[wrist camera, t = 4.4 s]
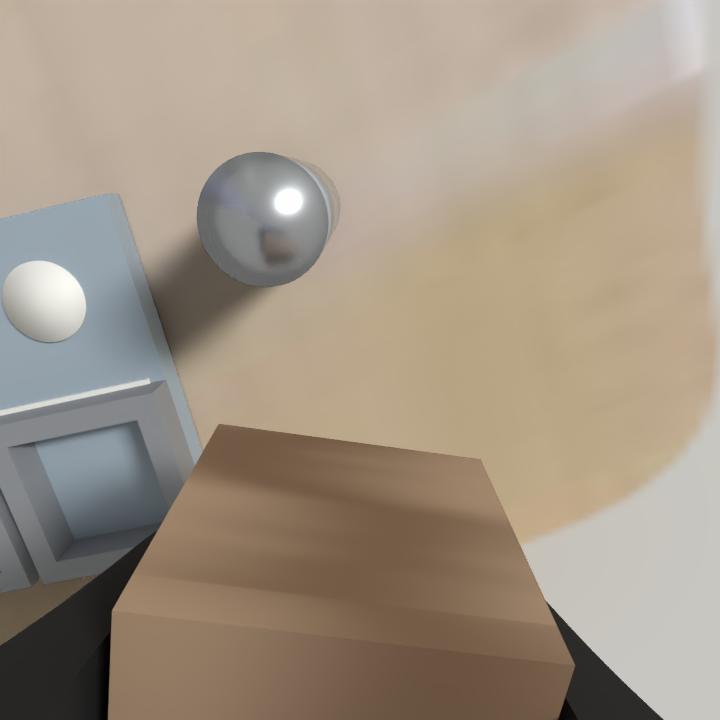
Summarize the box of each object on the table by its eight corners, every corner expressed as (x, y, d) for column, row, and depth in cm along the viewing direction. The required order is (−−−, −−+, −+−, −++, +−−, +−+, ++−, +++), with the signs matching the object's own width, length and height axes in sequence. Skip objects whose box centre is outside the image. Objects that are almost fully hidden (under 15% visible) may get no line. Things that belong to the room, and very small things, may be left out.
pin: (242, 171, 17) (180, 167, 11) (329, 152, 17) (312, 138, 11) (264, 259, 18) (217, 298, 12) (348, 241, 18) (341, 272, 12)
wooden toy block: (199, 641, 12) (99, 932, 8) (219, 423, 11) (111, 610, 6) (432, 668, 13) (480, 966, 8) (480, 459, 11) (575, 665, 6)
